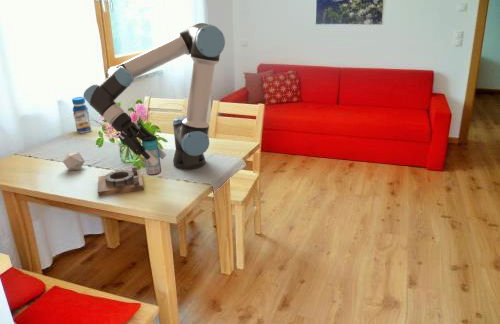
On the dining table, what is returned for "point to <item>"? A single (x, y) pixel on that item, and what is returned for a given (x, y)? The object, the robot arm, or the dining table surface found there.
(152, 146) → the beverage can
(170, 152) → the dining table surface
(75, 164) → the die
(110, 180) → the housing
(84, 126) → the beverage bottle
